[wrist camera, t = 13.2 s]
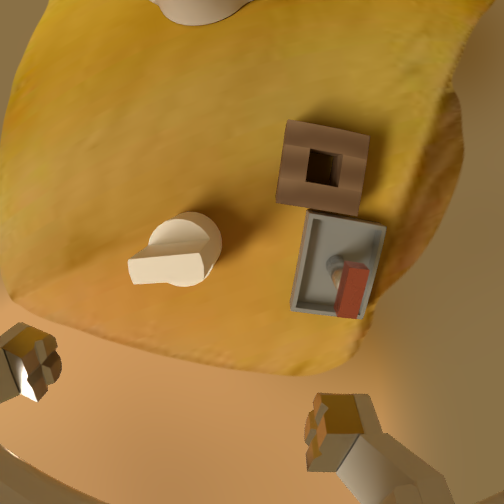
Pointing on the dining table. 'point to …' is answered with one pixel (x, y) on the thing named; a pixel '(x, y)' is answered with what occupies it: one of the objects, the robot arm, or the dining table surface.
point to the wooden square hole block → (342, 172)
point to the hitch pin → (347, 285)
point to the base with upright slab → (178, 252)
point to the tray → (326, 245)
